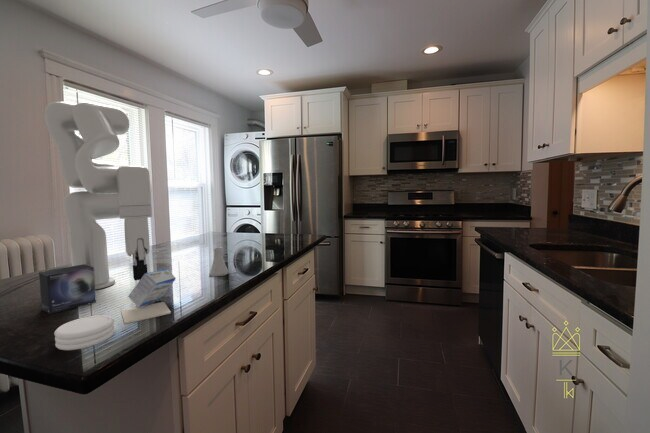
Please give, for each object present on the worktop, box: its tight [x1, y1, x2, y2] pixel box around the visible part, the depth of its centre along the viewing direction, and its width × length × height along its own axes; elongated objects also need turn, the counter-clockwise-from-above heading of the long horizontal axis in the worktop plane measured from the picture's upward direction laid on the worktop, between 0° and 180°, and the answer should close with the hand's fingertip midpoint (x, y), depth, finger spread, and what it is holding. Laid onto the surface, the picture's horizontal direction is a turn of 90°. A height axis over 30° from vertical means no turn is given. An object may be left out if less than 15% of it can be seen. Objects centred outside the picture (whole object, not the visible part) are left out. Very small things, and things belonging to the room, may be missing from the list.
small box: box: [38, 264, 97, 315], centre depth 85 cm, size 11×6×10 cm, turn 148°
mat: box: [120, 301, 172, 325], centre depth 80 cm, size 10×10×1 cm
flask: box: [208, 247, 230, 277], centre depth 116 cm, size 7×7×10 cm
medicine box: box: [127, 268, 177, 307], centre depth 85 cm, size 8×4×9 cm
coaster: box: [53, 314, 116, 351], centre depth 66 cm, size 10×10×4 cm
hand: (140, 278), depth 85 cm, fingers closed
